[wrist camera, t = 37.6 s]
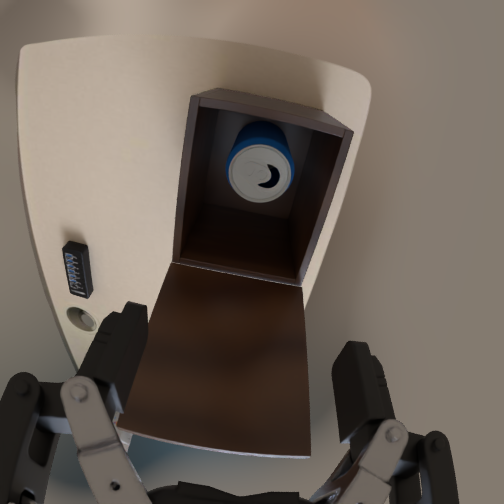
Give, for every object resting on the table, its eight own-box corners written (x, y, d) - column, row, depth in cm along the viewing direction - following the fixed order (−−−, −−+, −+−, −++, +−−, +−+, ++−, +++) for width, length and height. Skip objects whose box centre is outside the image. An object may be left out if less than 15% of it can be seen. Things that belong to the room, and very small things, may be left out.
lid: (115, 426, 16) (128, 445, 20) (311, 456, 17) (287, 470, 21) (171, 262, 30) (170, 299, 34) (302, 286, 31) (286, 321, 35)
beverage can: (274, 176, 39) (277, 216, 29) (228, 157, 38) (213, 191, 28) (295, 132, 36) (308, 158, 26) (247, 112, 35) (240, 128, 25)
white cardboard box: (128, 408, 81) (117, 447, 68) (138, 415, 83) (127, 454, 71) (110, 407, 83) (98, 444, 70) (119, 415, 85) (108, 451, 73)
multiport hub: (87, 245, 47) (81, 252, 45) (93, 291, 53) (88, 299, 51) (67, 240, 47) (61, 247, 45) (75, 286, 53) (70, 293, 51)
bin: (217, 87, 34) (190, 95, 22) (323, 111, 35) (354, 131, 23) (198, 204, 43) (172, 262, 31) (291, 222, 44) (300, 286, 32)
